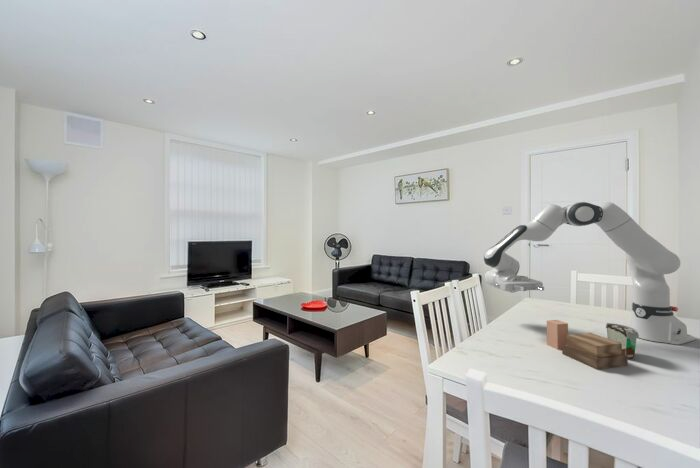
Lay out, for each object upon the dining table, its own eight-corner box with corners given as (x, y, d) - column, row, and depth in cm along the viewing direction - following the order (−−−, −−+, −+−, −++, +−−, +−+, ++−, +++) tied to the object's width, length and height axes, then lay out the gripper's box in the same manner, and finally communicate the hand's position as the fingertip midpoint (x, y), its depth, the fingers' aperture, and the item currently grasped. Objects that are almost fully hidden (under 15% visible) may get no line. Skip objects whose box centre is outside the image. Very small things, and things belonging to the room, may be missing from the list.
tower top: (589, 343, 114) (589, 332, 113) (621, 354, 103) (621, 343, 103) (566, 345, 111) (566, 335, 111) (597, 357, 100) (597, 346, 100)
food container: (648, 362, 104) (648, 334, 104) (628, 361, 105) (628, 333, 105) (623, 348, 116) (623, 323, 116) (605, 347, 118) (605, 322, 117)
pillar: (557, 343, 122) (557, 319, 122) (568, 348, 117) (567, 323, 117) (546, 344, 121) (546, 320, 121) (557, 349, 116) (557, 324, 116)
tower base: (590, 352, 115) (590, 342, 115) (627, 367, 102) (627, 355, 102) (562, 355, 112) (562, 344, 112) (596, 371, 99) (596, 359, 99)
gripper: (492, 277, 142) (513, 282, 128) (528, 276, 146) (553, 281, 133) (492, 290, 142) (513, 297, 129) (528, 288, 146) (552, 295, 133)
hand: (533, 289), depth 131 cm, fingers open, 8 cm apart
